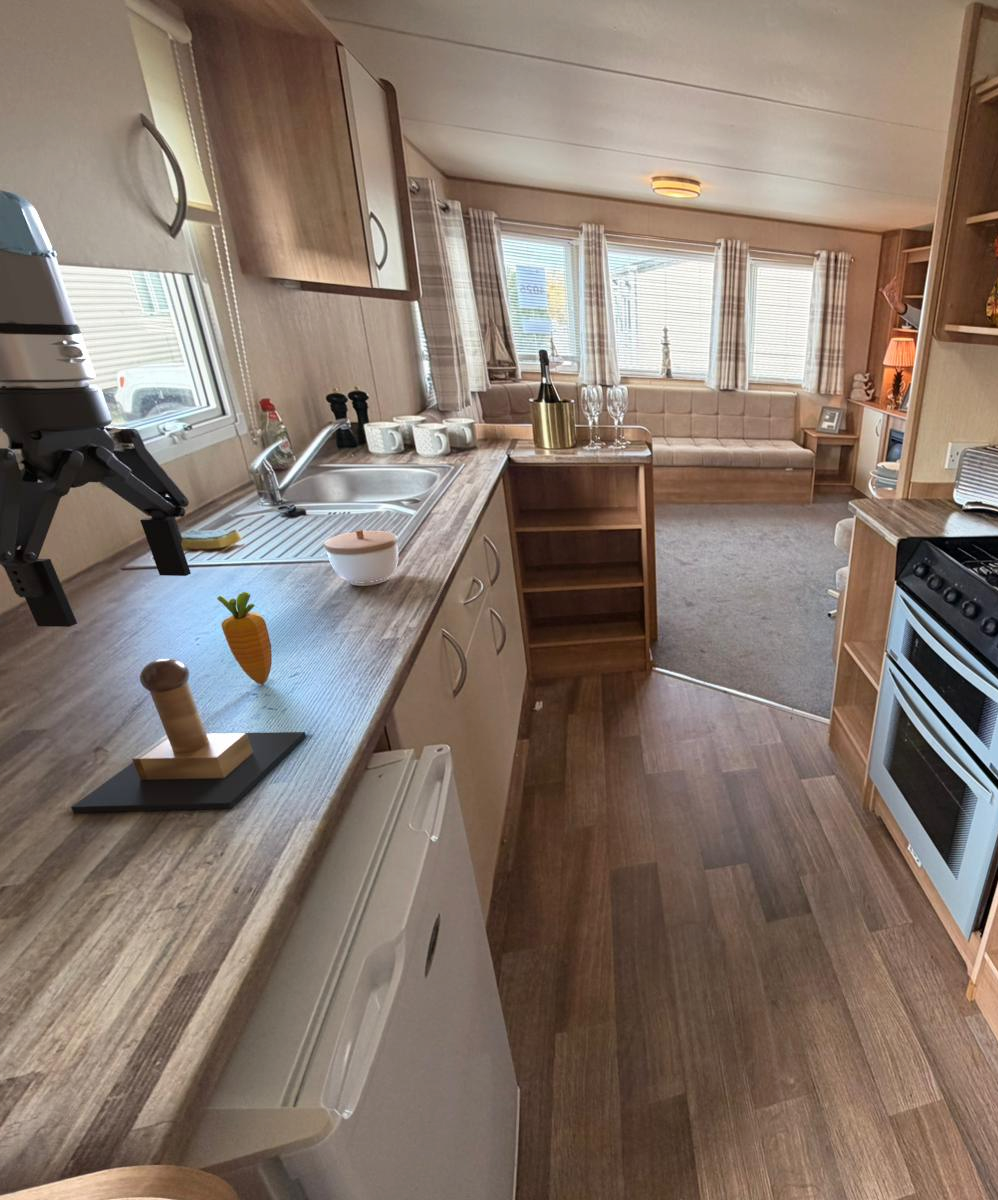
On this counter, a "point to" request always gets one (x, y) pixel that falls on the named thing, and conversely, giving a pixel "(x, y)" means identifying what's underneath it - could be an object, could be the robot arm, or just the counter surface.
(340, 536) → the lidded bowl
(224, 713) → the counter surface
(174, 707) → the stamp
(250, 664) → the carrot
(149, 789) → the mat
